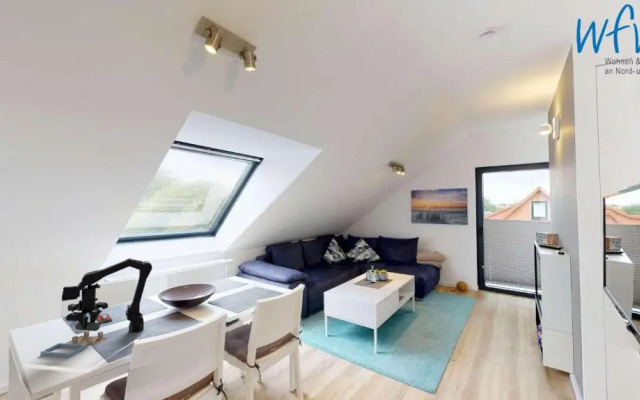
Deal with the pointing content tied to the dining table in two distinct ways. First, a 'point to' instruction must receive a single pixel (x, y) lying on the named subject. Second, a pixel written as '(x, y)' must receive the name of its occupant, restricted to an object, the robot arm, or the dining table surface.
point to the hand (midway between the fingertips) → (87, 327)
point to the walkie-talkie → (103, 319)
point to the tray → (64, 355)
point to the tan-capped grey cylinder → (88, 326)
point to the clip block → (87, 339)
